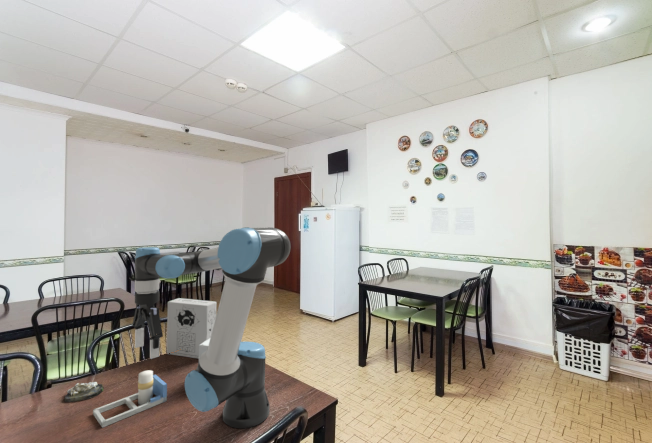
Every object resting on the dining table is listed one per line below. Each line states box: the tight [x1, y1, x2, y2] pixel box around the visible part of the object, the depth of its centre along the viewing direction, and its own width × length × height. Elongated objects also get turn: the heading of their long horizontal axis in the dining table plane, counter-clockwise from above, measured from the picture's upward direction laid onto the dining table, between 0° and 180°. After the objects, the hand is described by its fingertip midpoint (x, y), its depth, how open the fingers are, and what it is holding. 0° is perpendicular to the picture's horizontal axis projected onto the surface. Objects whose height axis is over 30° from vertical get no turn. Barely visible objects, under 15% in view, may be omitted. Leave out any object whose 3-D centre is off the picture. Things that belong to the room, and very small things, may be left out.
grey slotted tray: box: [92, 374, 168, 429], centre depth 106 cm, size 19×10×6 cm, turn 140°
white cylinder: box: [137, 369, 154, 406], centre depth 109 cm, size 5×5×10 cm
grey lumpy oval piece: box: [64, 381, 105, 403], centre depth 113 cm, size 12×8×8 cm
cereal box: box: [166, 297, 217, 360], centre depth 148 cm, size 22×8×25 cm, turn 76°
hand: (146, 351), depth 109 cm, fingers open, 13 cm apart
